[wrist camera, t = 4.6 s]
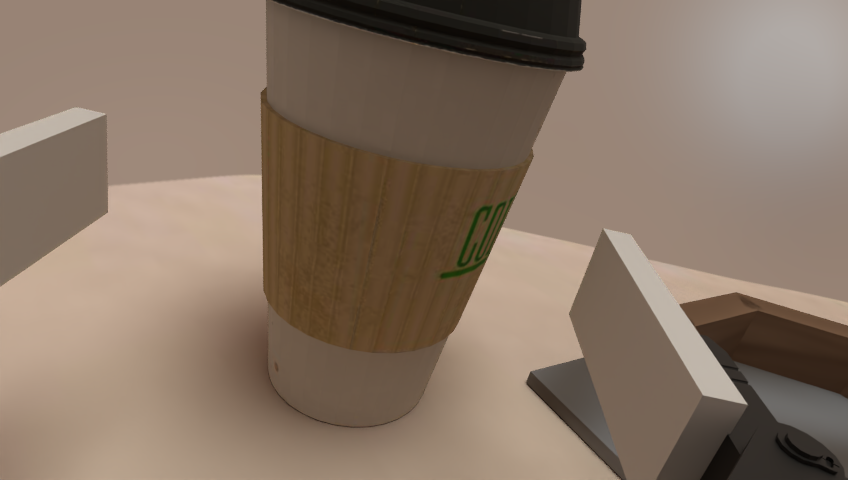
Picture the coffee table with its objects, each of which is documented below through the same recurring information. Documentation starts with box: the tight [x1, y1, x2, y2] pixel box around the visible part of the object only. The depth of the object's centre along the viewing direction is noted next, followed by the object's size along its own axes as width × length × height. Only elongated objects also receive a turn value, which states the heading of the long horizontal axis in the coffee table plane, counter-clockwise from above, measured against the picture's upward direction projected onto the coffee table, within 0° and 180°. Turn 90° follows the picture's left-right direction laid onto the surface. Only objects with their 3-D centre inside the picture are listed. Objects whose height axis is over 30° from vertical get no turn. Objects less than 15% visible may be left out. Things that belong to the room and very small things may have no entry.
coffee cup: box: [261, 0, 586, 427], centre depth 19 cm, size 10×10×15 cm
